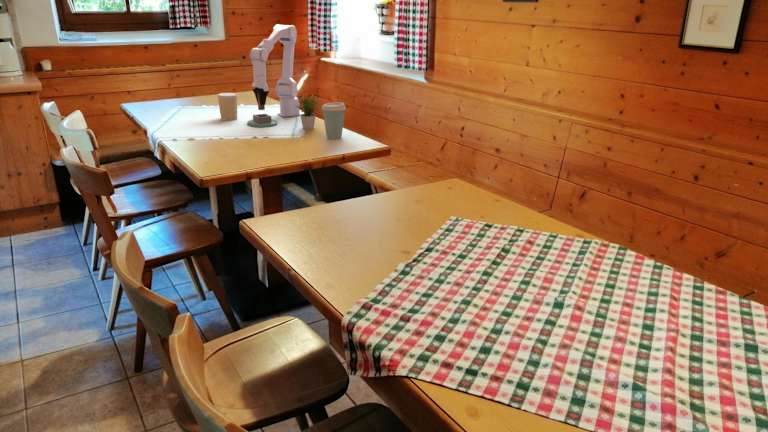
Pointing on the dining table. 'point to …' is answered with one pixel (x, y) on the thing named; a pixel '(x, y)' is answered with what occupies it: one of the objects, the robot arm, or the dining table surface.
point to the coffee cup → (228, 106)
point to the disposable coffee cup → (334, 119)
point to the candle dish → (262, 121)
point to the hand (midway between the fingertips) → (261, 104)
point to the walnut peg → (260, 107)
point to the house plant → (308, 112)
